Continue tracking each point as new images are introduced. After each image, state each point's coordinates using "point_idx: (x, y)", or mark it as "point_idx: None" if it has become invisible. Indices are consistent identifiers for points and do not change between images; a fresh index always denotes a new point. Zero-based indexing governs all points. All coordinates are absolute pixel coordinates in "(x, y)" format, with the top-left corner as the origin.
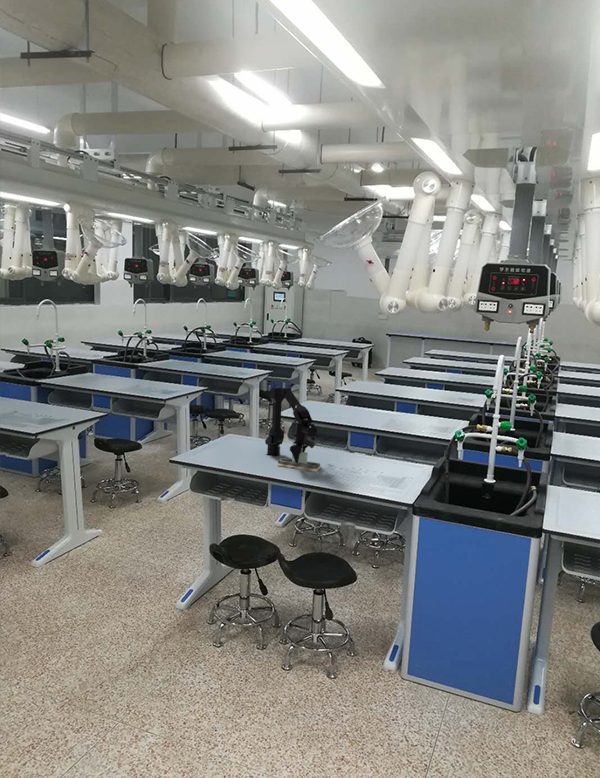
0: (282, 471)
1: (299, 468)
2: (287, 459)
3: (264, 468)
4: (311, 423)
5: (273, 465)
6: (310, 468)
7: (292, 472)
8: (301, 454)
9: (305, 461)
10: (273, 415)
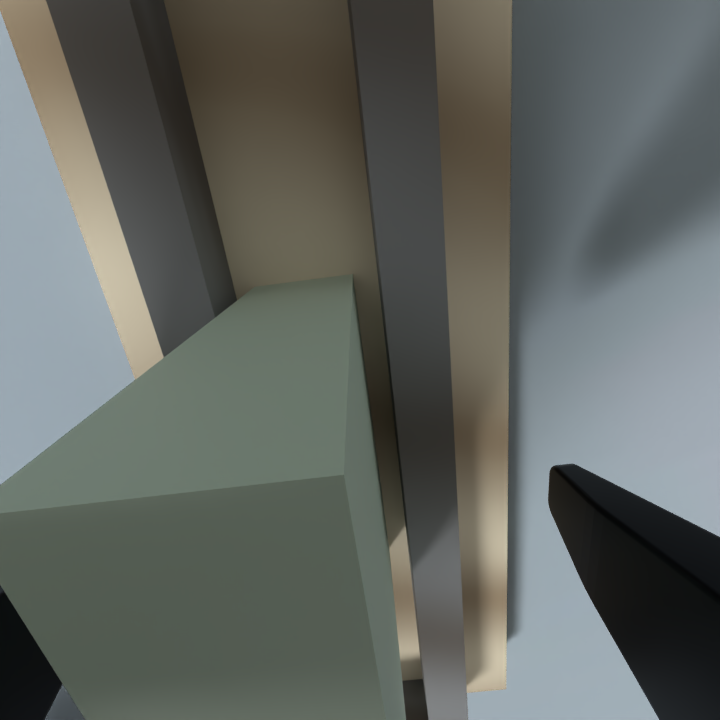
0: (700, 525)
1: (500, 352)
2: None
3: (645, 714)
4: None
5: None
6: (455, 83)
7: (705, 384)
8: (386, 660)
9: (353, 323)
10: None
